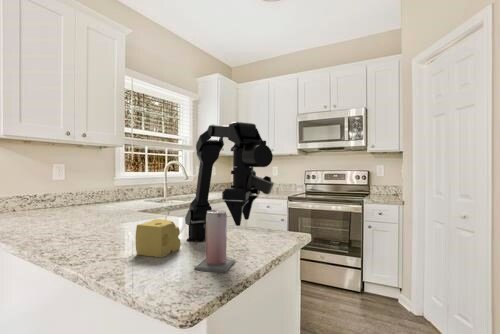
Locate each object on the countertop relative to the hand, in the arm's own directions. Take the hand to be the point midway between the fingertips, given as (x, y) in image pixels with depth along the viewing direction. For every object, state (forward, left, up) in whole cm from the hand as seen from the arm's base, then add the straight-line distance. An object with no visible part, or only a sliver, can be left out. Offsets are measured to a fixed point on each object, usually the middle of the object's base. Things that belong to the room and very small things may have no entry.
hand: (242, 222), depth 78 cm
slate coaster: (-8, 0, -13) cm, 15 cm away
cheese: (-31, +7, -13) cm, 34 cm away
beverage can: (-8, 0, -12) cm, 15 cm away
